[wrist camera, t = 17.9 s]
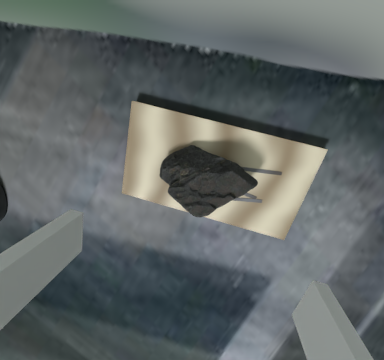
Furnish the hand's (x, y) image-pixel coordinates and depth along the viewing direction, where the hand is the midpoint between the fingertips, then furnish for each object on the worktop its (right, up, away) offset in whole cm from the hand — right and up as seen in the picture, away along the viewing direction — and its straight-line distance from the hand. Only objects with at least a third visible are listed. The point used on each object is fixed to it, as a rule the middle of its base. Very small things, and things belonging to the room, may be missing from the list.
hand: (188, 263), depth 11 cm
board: (+3, +6, +18) cm, 19 cm away
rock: (+2, +5, +17) cm, 18 cm away
